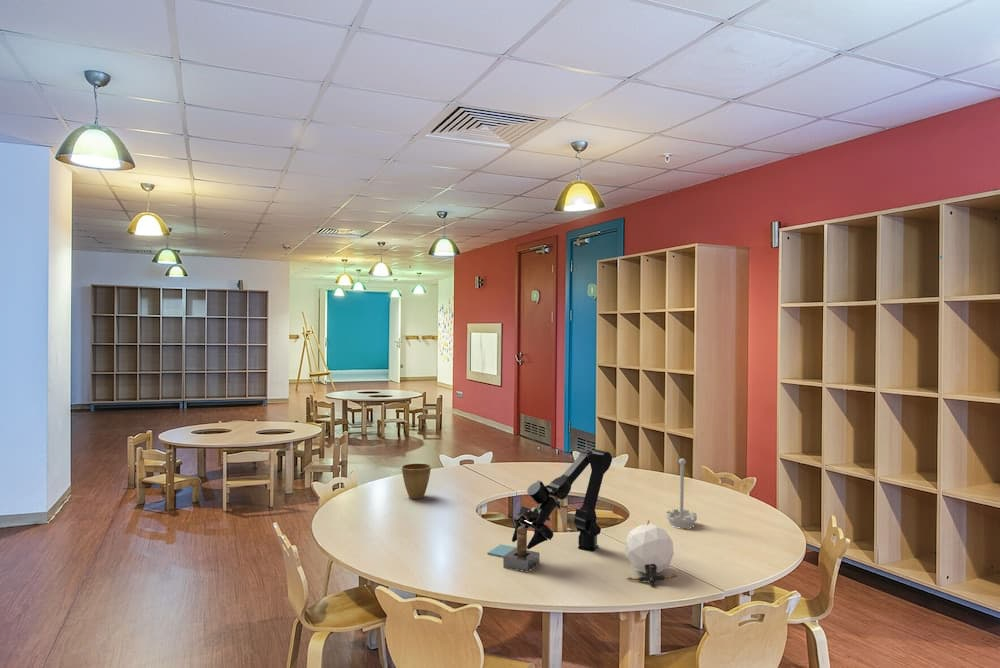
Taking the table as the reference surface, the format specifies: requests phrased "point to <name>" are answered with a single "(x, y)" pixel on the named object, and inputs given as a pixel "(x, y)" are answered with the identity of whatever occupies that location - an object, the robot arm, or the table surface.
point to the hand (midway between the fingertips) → (519, 545)
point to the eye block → (521, 560)
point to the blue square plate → (501, 550)
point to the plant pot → (416, 479)
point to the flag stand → (681, 507)
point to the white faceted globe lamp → (649, 552)
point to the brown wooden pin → (522, 541)
